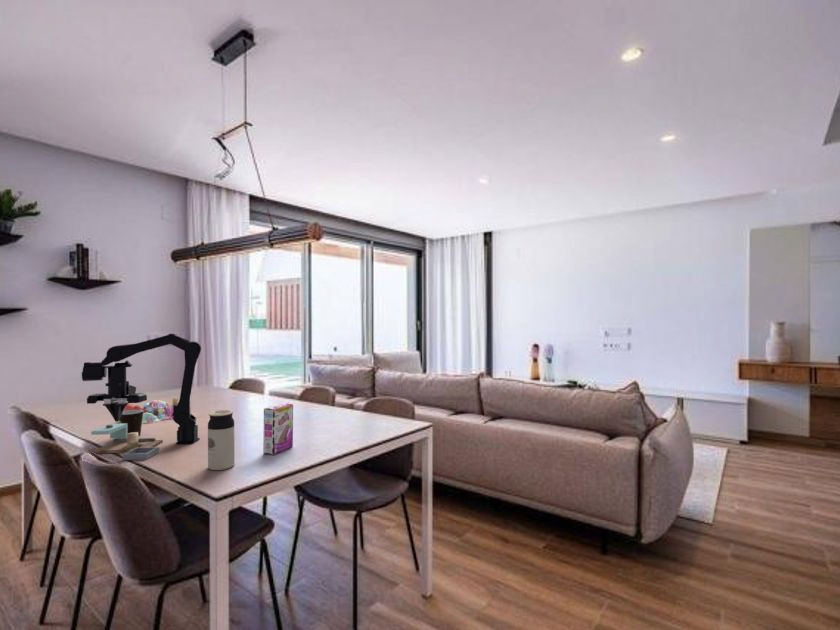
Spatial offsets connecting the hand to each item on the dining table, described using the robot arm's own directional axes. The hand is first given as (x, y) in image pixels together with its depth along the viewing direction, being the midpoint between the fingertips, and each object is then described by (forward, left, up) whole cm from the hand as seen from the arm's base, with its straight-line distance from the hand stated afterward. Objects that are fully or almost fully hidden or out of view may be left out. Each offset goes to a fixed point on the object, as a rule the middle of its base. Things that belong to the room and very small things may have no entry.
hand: (117, 421), depth 166 cm
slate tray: (-14, +8, -10) cm, 19 cm away
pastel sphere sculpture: (+15, -52, -11) cm, 55 cm away
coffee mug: (+5, -17, -11) cm, 21 cm away
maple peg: (-6, 0, -10) cm, 12 cm away
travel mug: (-47, +21, -11) cm, 52 cm away
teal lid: (+4, -2, -8) cm, 10 cm away
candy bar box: (-61, +4, -11) cm, 62 cm away
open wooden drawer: (-3, -2, -10) cm, 11 cm away
